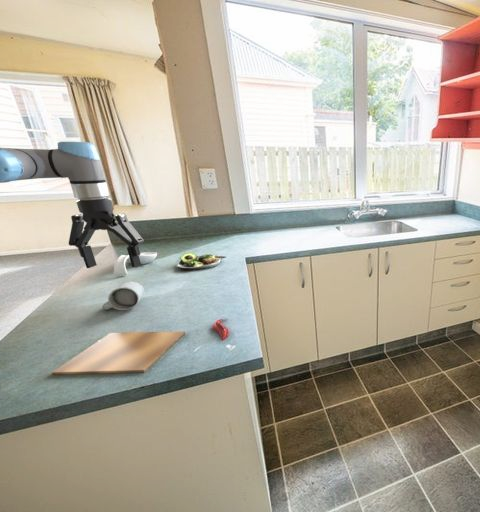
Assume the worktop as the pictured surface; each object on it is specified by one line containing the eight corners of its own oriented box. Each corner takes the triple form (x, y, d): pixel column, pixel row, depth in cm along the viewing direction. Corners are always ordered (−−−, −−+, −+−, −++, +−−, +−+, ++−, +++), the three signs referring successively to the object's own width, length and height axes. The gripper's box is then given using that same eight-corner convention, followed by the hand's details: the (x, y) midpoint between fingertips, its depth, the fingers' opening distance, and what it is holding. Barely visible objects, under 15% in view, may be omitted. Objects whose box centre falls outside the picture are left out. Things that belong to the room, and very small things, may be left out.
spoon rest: (135, 259, 142) (131, 245, 139) (163, 257, 144) (159, 243, 142) (104, 277, 120) (99, 261, 118) (138, 275, 123) (133, 259, 120)
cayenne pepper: (214, 321, 89) (213, 315, 88) (231, 318, 90) (230, 312, 90) (208, 343, 78) (207, 337, 77) (227, 339, 80) (226, 333, 79)
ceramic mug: (147, 297, 103) (141, 277, 101) (141, 307, 96) (135, 286, 94) (108, 304, 99) (101, 283, 96) (99, 315, 92) (91, 292, 89)
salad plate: (227, 255, 149) (226, 246, 147) (227, 266, 134) (225, 256, 132) (182, 260, 141) (180, 251, 139) (176, 273, 125) (173, 262, 124)
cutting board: (52, 374, 66) (51, 372, 66) (111, 334, 81) (110, 332, 81) (144, 372, 67) (144, 370, 67) (185, 333, 82) (185, 331, 82)
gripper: (146, 196, 90) (163, 261, 97) (61, 196, 89) (83, 262, 96) (127, 199, 83) (146, 269, 90) (34, 200, 82) (61, 271, 89)
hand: (114, 266), depth 93 cm, fingers open, 13 cm apart
